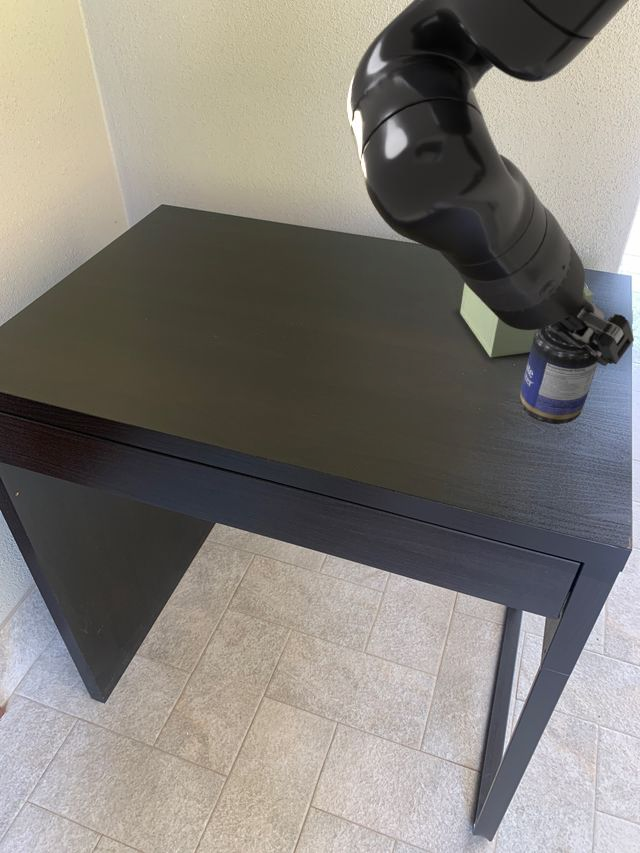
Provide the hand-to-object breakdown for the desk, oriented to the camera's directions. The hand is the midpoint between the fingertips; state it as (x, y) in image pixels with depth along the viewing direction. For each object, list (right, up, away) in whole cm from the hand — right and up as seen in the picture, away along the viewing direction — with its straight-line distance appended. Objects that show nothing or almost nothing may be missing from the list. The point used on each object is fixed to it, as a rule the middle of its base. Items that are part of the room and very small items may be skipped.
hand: (577, 339), depth 64 cm
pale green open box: (+4, +5, +32) cm, 32 cm away
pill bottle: (-1, -6, +4) cm, 8 cm away
